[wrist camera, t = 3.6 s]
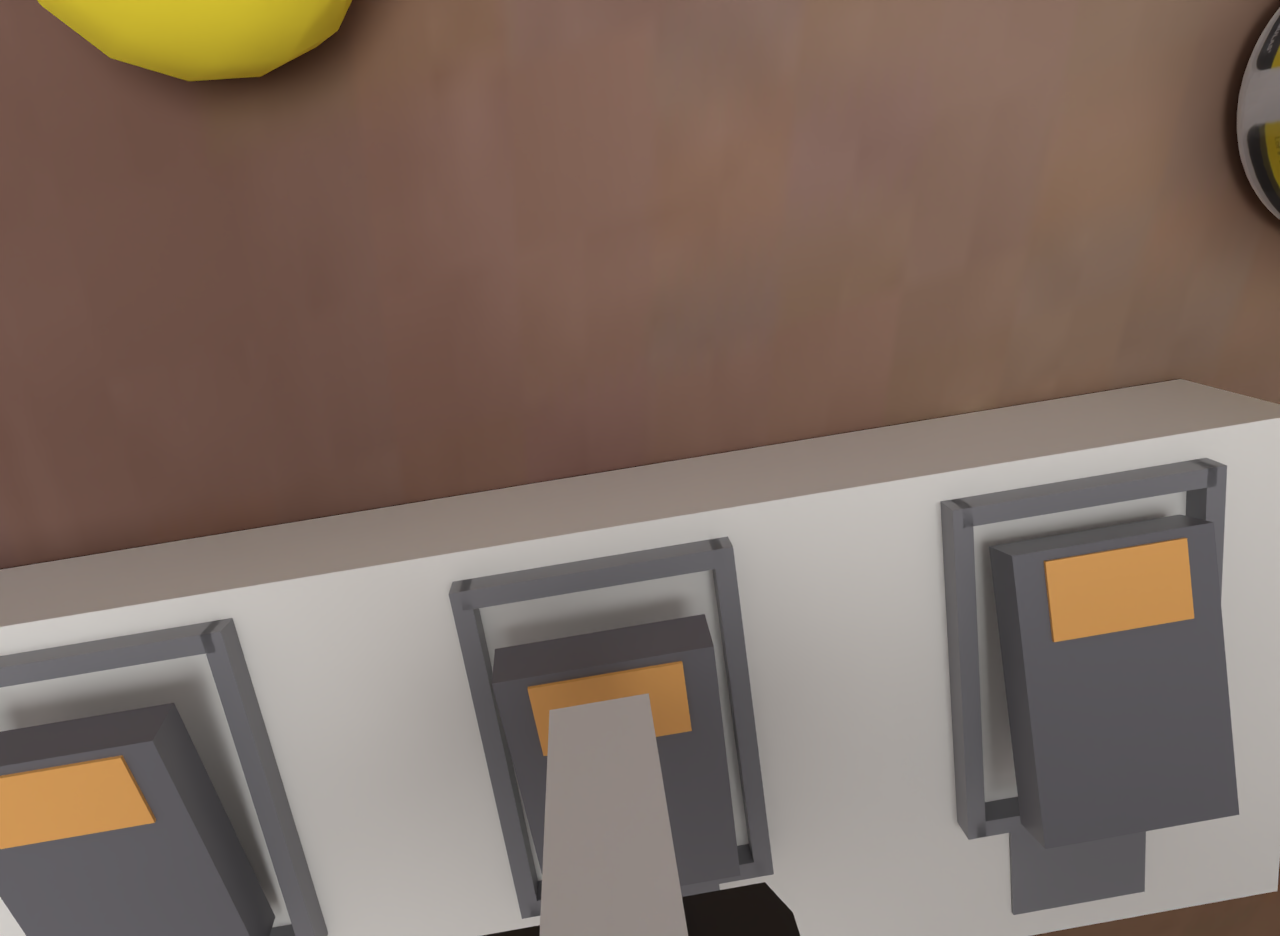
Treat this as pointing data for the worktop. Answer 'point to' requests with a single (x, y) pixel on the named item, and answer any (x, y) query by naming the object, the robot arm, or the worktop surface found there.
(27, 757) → the rocker
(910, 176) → the worktop surface
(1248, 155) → the pill bottle
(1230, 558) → the rocker switch box
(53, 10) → the lemon
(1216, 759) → the rocker
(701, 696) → the dark grey flat block
